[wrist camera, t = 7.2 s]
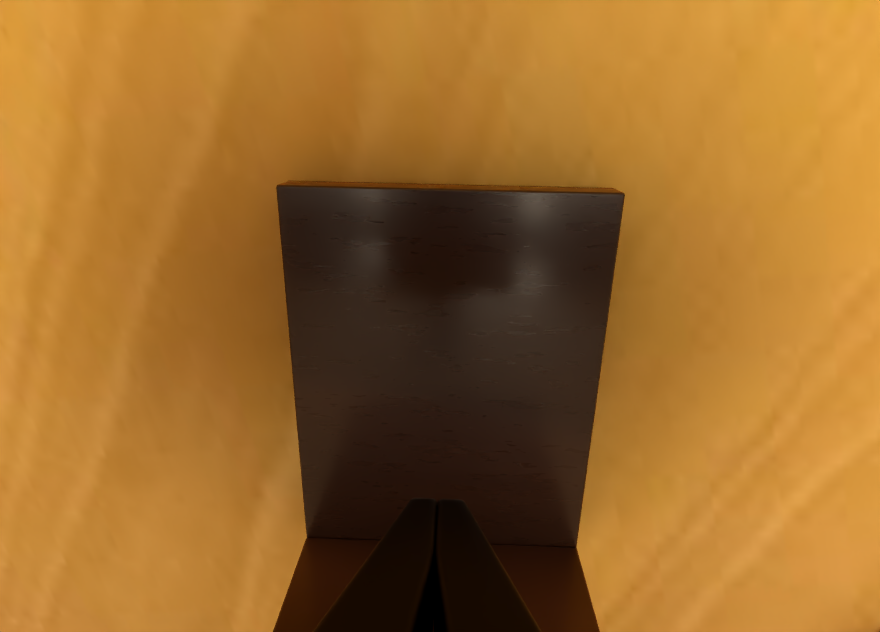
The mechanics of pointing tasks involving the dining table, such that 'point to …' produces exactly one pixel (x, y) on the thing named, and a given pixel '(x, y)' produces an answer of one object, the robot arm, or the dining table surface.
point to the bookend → (446, 372)
